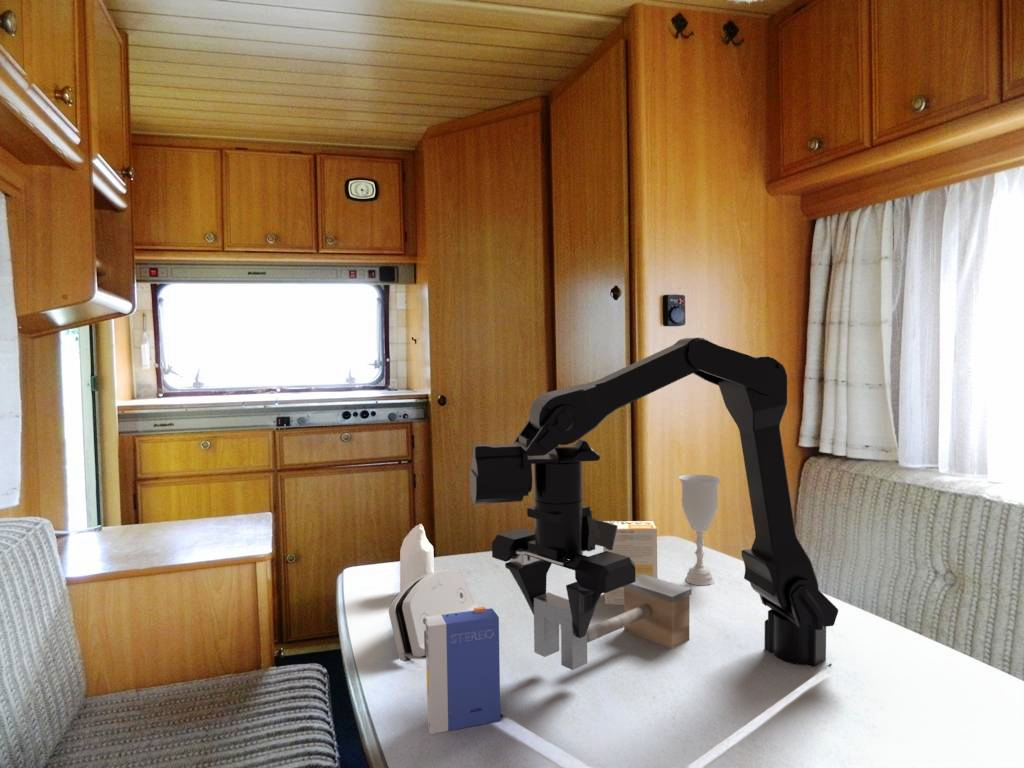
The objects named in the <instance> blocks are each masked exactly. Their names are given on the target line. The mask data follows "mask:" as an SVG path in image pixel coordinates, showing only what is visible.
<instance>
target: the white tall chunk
mask: <svg viewBox="0 0 1024 768" xmlns="http://www.w3.org/2000/svg"><path fill="white" fill-rule="evenodd" d="M408 532H409V533H408V534H407V535H406V536H405V537H404V539H403V541H402V544H401V547H400V551H399V553H400V554H399V555H400V556H399V557H400V559H399V581H400V582H399V589H400V590H399V593H400V592H401V591H402V590H403V589H404V588H405V587H406V586H407V585H408V584H410V583H411V582H413V581H414V580H416V579H418V578H419V577H421V576H423V575H426V574H429V573H433V572H435V567H434V566H435V565H434V563H435V562H434V561H435V560H434V559H435V557H434V556H435V555H434V550H435V549H434V546H433V545H432V544H431V543H430V541H429V539H428V538H427V536H426V531H425V528H424V526H423V524H422V523H419V524H418V525H415V526H414V527H413V528H411V530H410V531H408Z"/></svg>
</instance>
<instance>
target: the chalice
mask: <svg viewBox="0 0 1024 768" xmlns="http://www.w3.org/2000/svg"><path fill="white" fill-rule="evenodd" d="M678 477H679V478H678V480H679V481H680V483H681V506H682V508H683V512H684V515H685V518H686V520H687V522H688V524H689V526H690V528H691V530H693V531H695V532H696V539H695V541H694V543H695V544H696V550H695V551H694V554H695V556H696V562H695V564H694V565H692V566H690V567H689V568H688V571H687V573H686V576H685V577H684V581H685V580H686V581H687V582H686V581H685V582H686V583H688V584H690V583H691V584H690V585H694V584H695V586H709V585H708V584H711V585H713V584H714V581H715V579H714V578H713V574H712V573H711V570H710V568H709V567H708V566H706V565H705V564H704V562H703V558H704V555H706V553H705V552H704V550H703V549H704V548H703V546H704V544H705V541H704V538H703V534H704V532H706V531H708V530H709V529H710V527H711V525H712V523H713V521H714V518H715V516H716V514H717V510H718V508H719V507H718V505H719V504H718V503H719V502H718V499H719V498H718V495H719V493H718V492H719V490H718V489H719V488H718V486H719V484H720V482H721V480H722V479H721V478H720V477H718V476H714V475H708V474H684V475H680V476H678Z"/></svg>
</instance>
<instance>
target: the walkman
mask: <svg viewBox="0 0 1024 768" xmlns="http://www.w3.org/2000/svg"><path fill="white" fill-rule="evenodd" d="M425 619H426V631H424V654H425V658H426V661H425V662H426V663H425V664H426V665H425V666H426V704H427V705H426V707H427V708H426V711H427V712H426V713H427V728H428V729H427V730H428V732H429V735H434V734H440V733H444V732H449V731H455V730H460V729H465V728H466V729H467V728H470V727H476V726H480V725H481V726H482V725H486V724H492V723H496V722H501V681H500V679H501V678H500V677H501V676H500V662H501V661H500V616H499V615H498V614H497V613H496V611H495V610H494V608H491V607H490V608H486V607H485V606H479V607H477V608H474V611H467V612H459V613H451V614H444V615H437V616H429V617H425Z"/></svg>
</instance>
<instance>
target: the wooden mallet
mask: <svg viewBox="0 0 1024 768" xmlns="http://www.w3.org/2000/svg"><path fill="white" fill-rule="evenodd" d="M635 581H636V582H634V583H631V584H628V585H626V586H623V587H624V605H623V609H624V610H623V613H621V614H618V615H615V616H613V617H610V618H608V619H606V620H603V621H601V622H599V623H596V624H593V625H591V626H589V627H588V630H587V644H589V643H590V642H593V641H594V640H597V639H600V638H601V637H604V636H606V635H608V634H611V633H613V632H615V631H618V630H620V629H622V628H623V629H624V630H623V631H625V632H628V633H630V634H633V635H635V636H638V637H641V638H643V639H646V640H649V641H651V642H654V643H657V644H659V645H662V646H664V647H667V648H669V649H674V648H677V647H678V646H680V645H682V644H684V643H686V642H687V641H690V596H691V595H692V594H693V593H692V588H691V587H687V586H685V585H684V586H683V585H681V584H677V583H674V582H671V581H667V580H664V579H661V578H658V579H657V578H654V577H650V576H647V575H643V574H640V575H637V576H635Z"/></svg>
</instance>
